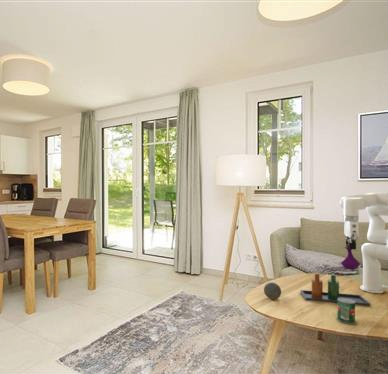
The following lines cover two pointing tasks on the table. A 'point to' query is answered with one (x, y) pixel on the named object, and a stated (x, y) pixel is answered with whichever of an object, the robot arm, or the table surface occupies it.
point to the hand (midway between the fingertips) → (350, 247)
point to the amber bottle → (317, 287)
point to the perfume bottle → (350, 259)
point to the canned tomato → (346, 310)
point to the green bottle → (333, 288)
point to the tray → (357, 298)
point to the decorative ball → (272, 290)
